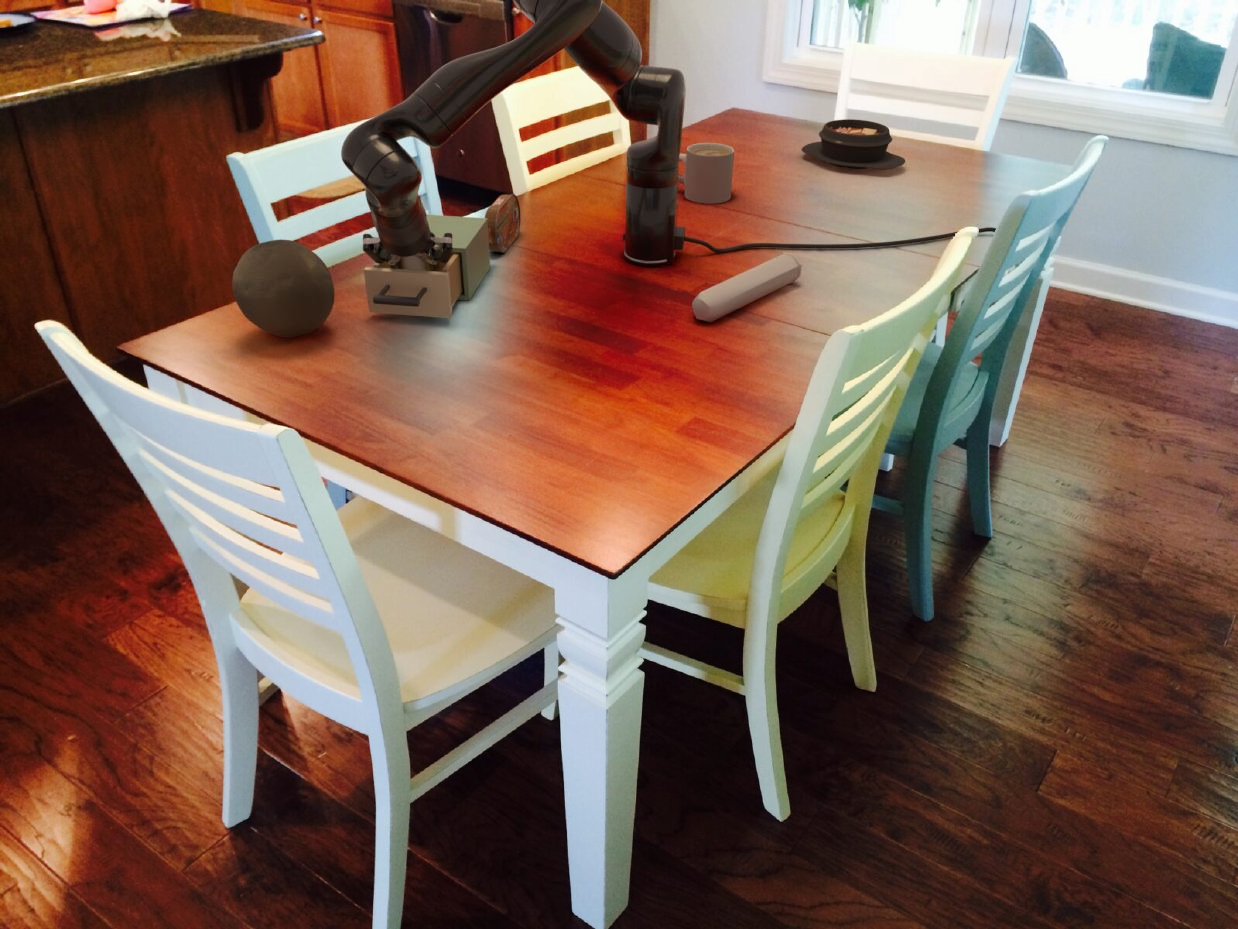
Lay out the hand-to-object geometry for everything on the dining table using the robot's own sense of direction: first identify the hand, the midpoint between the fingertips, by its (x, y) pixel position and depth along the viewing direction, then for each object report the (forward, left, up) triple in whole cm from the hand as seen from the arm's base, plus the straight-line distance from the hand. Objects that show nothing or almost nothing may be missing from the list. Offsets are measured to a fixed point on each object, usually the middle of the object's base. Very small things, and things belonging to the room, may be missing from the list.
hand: (416, 267), depth 160 cm
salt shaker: (0, +2, -4) cm, 5 cm away
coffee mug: (-42, -65, -7) cm, 78 cm away
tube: (-53, -10, -7) cm, 55 cm away
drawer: (0, +3, -6) cm, 6 cm away
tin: (-7, -29, -7) cm, 31 cm away
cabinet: (0, -10, -6) cm, 12 cm away
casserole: (-76, -95, -7) cm, 122 cm away
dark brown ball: (+16, +15, -7) cm, 23 cm away
